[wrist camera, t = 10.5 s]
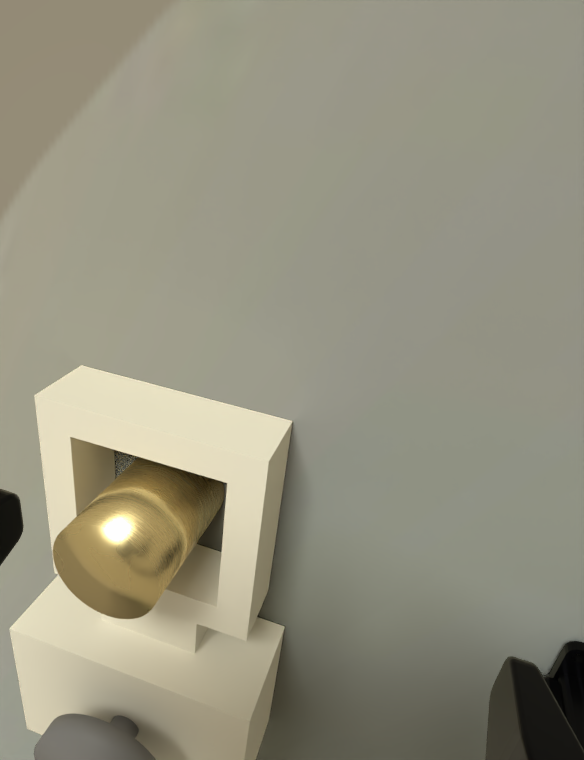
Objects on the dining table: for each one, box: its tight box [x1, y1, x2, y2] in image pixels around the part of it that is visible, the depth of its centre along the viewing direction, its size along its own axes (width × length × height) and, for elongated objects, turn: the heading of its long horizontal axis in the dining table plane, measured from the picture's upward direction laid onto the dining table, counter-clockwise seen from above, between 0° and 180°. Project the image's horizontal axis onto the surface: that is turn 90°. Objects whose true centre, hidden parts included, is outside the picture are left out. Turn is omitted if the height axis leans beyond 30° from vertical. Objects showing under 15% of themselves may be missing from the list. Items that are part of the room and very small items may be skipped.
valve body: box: [10, 365, 293, 760], centre depth 25 cm, size 12×20×8 cm, turn 172°
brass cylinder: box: [53, 457, 224, 619], centre depth 23 cm, size 4×4×6 cm
